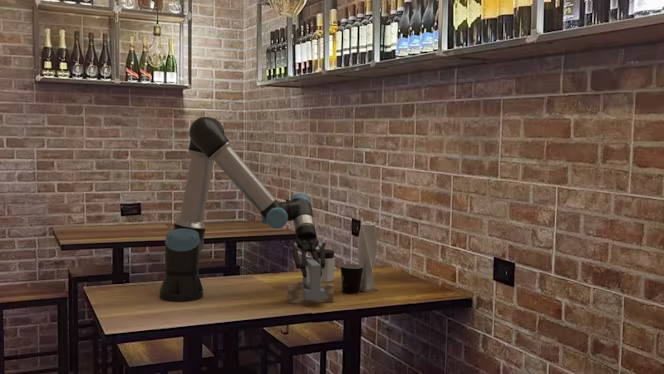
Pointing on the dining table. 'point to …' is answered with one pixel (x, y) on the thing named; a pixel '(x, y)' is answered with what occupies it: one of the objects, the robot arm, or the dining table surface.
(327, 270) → the jar
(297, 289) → the brown u-shaped block
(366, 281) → the skyscraper
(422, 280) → the dining table surface
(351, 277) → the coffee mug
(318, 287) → the grey angular block
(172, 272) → the robot arm
